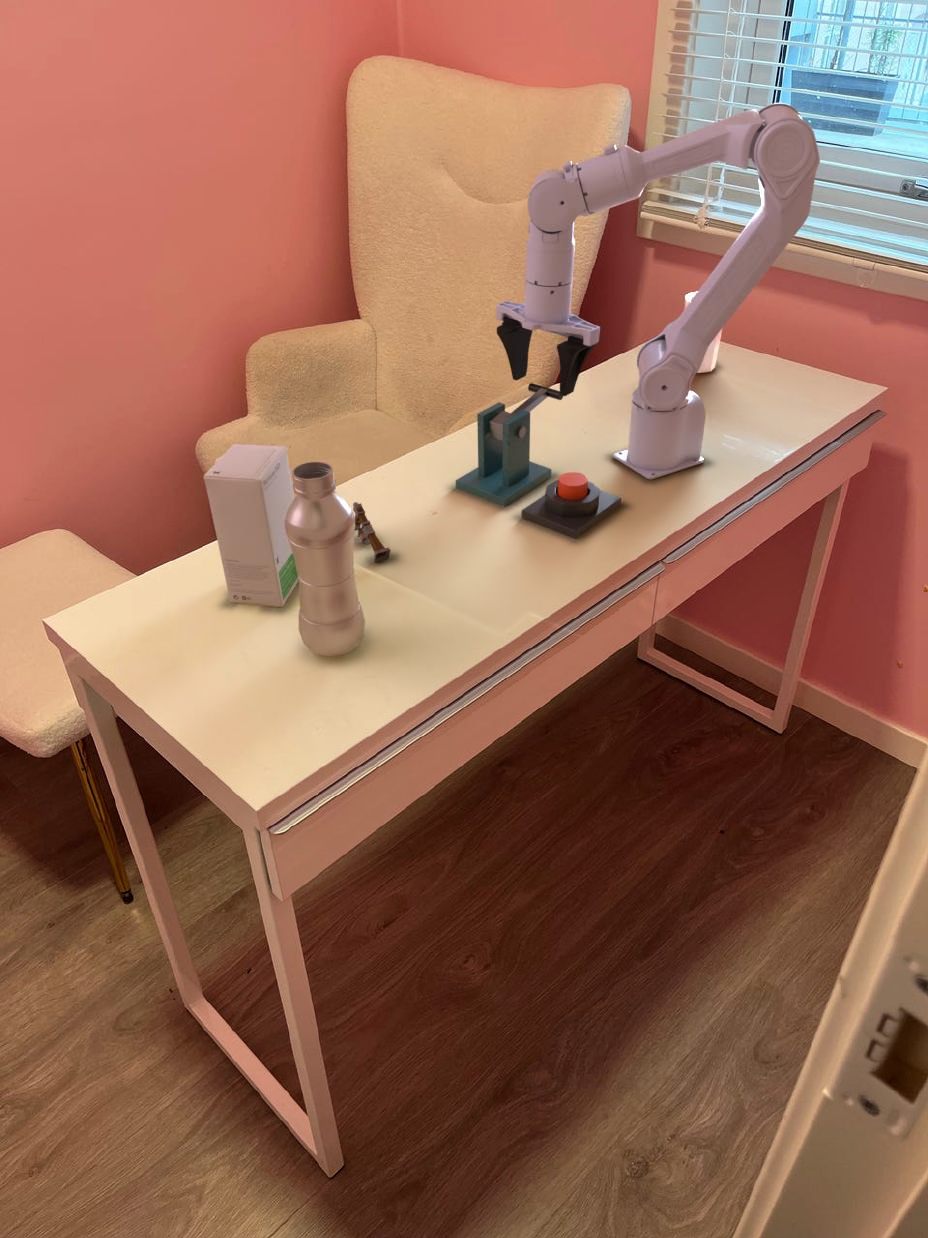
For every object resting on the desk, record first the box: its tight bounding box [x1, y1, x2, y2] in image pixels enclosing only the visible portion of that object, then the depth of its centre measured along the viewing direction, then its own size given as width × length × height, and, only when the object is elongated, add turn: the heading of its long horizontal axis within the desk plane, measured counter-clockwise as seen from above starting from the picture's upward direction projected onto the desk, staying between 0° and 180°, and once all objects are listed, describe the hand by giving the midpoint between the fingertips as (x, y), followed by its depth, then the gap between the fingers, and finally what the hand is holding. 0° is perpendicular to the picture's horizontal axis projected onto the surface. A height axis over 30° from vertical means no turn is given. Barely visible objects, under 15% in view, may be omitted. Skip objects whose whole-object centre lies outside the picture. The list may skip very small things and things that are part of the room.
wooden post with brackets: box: [352, 501, 391, 563], centre depth 114 cm, size 2×8×4 cm, turn 29°
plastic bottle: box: [284, 461, 366, 657], centre depth 94 cm, size 6×7×20 cm
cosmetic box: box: [203, 443, 299, 608], centre depth 104 cm, size 8×7×16 cm
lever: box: [489, 382, 564, 441], centre depth 124 cm, size 11×5×2 cm, turn 140°
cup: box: [683, 291, 723, 374], centre depth 153 cm, size 7×7×11 cm
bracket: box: [455, 401, 552, 507], centre depth 124 cm, size 10×8×10 cm
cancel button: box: [557, 471, 589, 500], centre depth 118 cm, size 4×4×2 cm
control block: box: [521, 479, 622, 540], centre depth 119 cm, size 10×8×3 cm
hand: (542, 385), depth 126 cm, fingers open, 7 cm apart
